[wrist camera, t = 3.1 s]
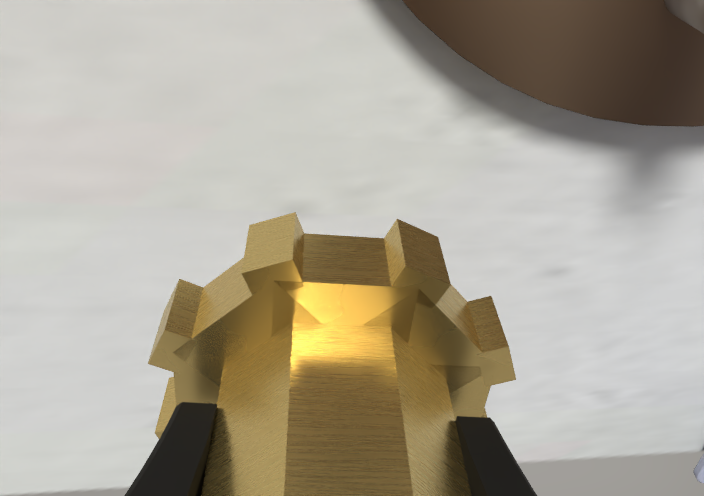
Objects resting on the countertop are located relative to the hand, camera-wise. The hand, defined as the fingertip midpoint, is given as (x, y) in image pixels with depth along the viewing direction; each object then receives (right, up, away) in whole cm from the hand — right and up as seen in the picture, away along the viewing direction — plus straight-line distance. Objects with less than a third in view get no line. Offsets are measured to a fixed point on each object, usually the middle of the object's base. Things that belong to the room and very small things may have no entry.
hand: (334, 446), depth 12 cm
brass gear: (0, +1, +2) cm, 3 cm away
